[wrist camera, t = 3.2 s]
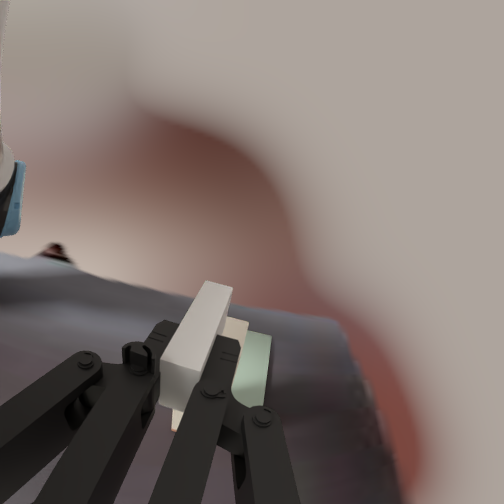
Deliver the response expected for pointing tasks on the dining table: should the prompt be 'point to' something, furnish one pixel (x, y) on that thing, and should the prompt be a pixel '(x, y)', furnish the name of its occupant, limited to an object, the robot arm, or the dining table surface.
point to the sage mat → (252, 370)
